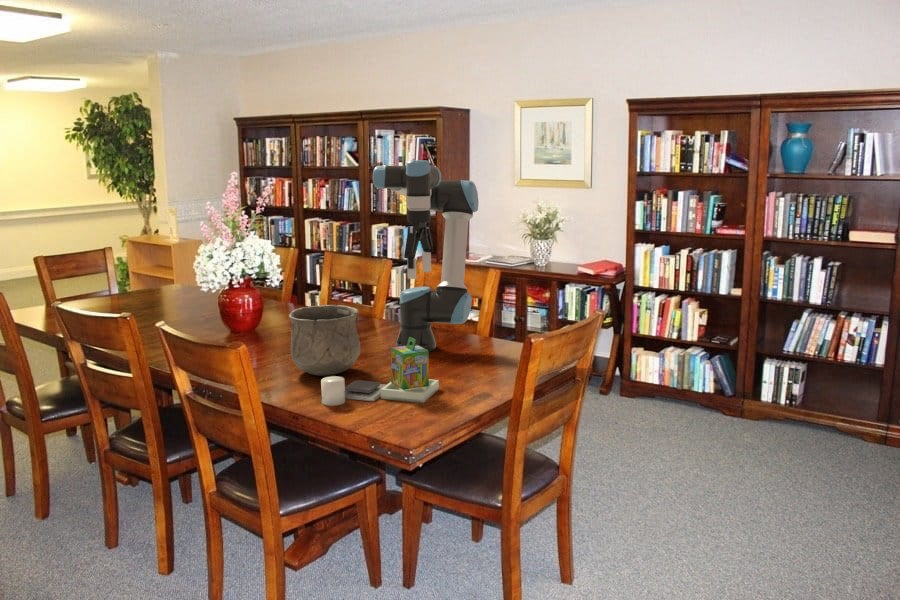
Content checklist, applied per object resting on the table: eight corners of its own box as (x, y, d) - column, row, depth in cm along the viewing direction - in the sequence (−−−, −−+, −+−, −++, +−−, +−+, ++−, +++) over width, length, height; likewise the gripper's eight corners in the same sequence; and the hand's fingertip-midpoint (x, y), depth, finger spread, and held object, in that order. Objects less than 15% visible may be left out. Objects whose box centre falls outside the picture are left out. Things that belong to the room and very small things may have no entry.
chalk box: (390, 383, 242) (389, 337, 239) (416, 378, 246) (415, 333, 243) (403, 391, 234) (402, 343, 231) (430, 386, 239) (429, 339, 236)
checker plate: (356, 383, 247) (356, 380, 247) (379, 385, 244) (379, 382, 244) (345, 390, 239) (345, 387, 239) (369, 393, 237) (369, 389, 237)
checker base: (353, 384, 250) (352, 379, 250) (390, 388, 246) (390, 382, 246) (335, 397, 238) (334, 391, 238) (373, 401, 234) (373, 395, 234)
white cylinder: (328, 397, 238) (327, 375, 237) (349, 399, 236) (348, 377, 235) (317, 404, 232) (316, 382, 230) (338, 406, 230) (338, 384, 228)
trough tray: (397, 385, 250) (397, 376, 249) (438, 389, 245) (438, 380, 245) (380, 398, 237) (380, 389, 236) (423, 403, 232) (423, 393, 232)
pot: (277, 371, 265) (274, 310, 261) (336, 359, 280) (334, 301, 276) (314, 388, 247) (312, 323, 242) (375, 374, 261) (374, 312, 257)
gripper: (421, 206, 259) (422, 268, 263) (392, 212, 235) (394, 281, 240) (442, 206, 256) (442, 269, 261) (415, 213, 233) (416, 282, 237)
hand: (419, 275), depth 250 cm, fingers open, 13 cm apart
